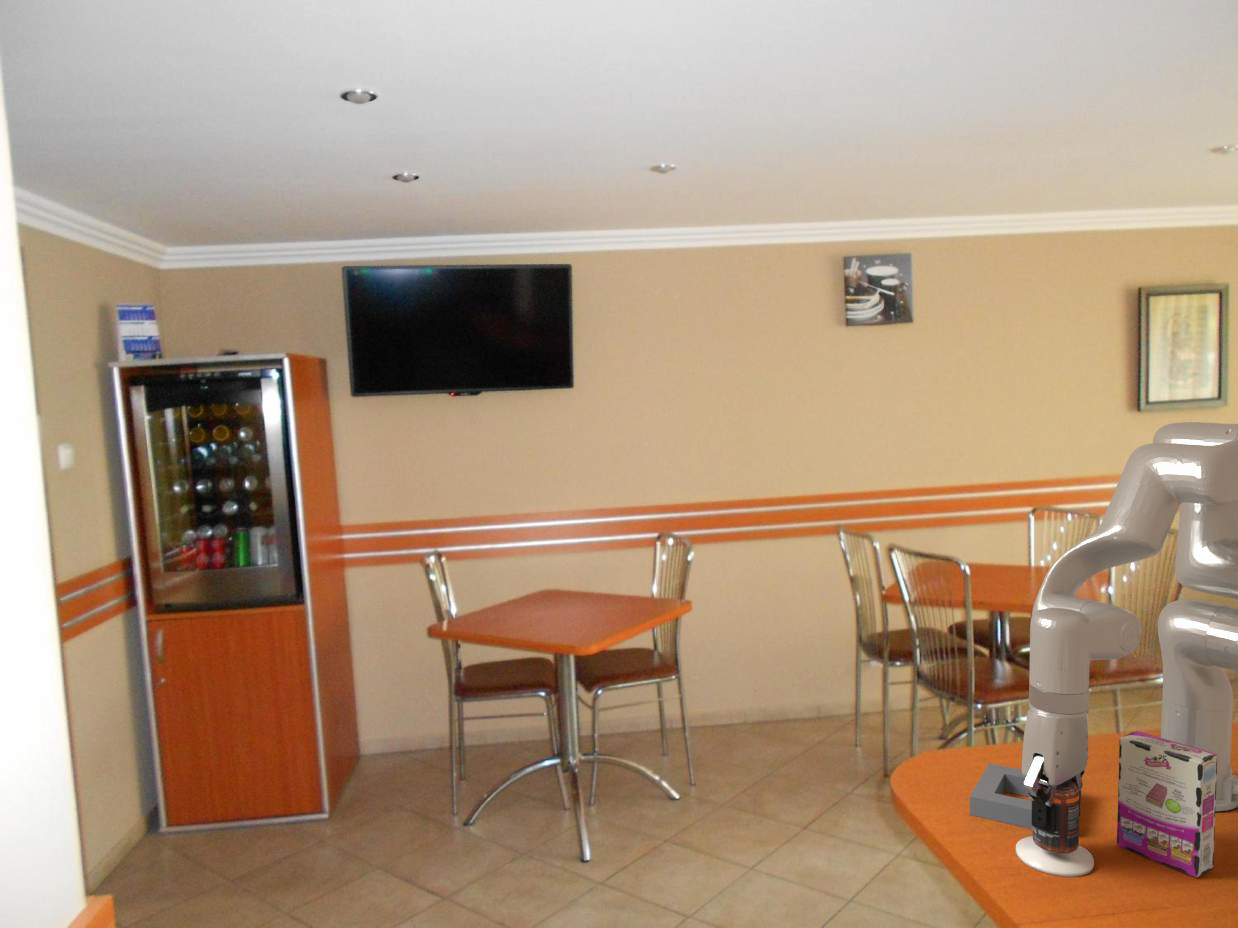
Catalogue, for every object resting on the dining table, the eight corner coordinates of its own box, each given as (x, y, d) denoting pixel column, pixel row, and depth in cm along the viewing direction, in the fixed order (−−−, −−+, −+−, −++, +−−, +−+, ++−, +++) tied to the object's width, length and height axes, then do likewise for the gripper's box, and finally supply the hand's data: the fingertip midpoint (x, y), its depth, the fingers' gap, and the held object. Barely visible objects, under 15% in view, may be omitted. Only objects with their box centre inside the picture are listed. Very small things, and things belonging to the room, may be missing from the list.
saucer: (1097, 850, 132) (1097, 846, 132) (1089, 884, 123) (1089, 879, 123) (1022, 833, 137) (1022, 829, 137) (1009, 863, 129) (1009, 859, 129)
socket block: (1081, 799, 147) (1081, 781, 147) (1068, 837, 136) (1069, 818, 135) (988, 780, 155) (988, 762, 155) (969, 814, 143) (969, 796, 143)
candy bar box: (1215, 868, 127) (1220, 753, 125) (1197, 879, 124) (1202, 762, 122) (1132, 835, 136) (1136, 728, 134) (1114, 845, 133) (1118, 736, 131)
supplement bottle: (1080, 840, 131) (1082, 764, 130) (1076, 859, 126) (1078, 780, 125) (1035, 830, 134) (1036, 755, 133) (1029, 848, 129) (1030, 771, 128)
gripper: (1063, 677, 136) (1061, 794, 138) (999, 705, 126) (997, 831, 128) (1115, 690, 130) (1112, 812, 132) (1052, 721, 120) (1050, 852, 122)
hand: (1056, 820), depth 130 cm, fingers closed on supplement bottle, 6 cm apart
